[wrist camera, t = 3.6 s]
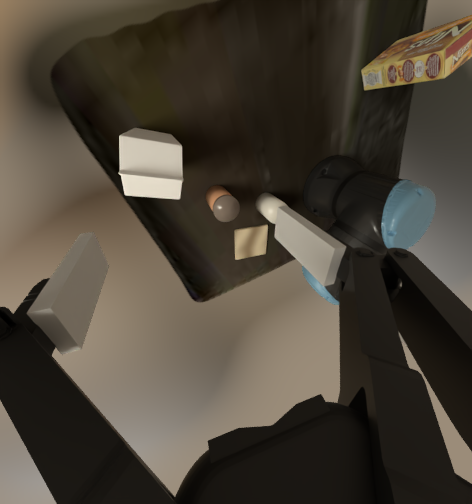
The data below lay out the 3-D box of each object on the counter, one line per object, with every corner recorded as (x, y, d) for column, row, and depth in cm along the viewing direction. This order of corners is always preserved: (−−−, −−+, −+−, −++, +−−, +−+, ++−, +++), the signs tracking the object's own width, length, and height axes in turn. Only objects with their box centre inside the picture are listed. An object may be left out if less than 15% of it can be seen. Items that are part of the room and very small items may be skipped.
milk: (171, 168, 40) (183, 210, 22) (136, 164, 38) (121, 206, 20) (171, 133, 37) (186, 149, 19) (134, 126, 35) (113, 137, 17)
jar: (227, 183, 45) (239, 194, 38) (228, 206, 48) (239, 219, 41) (203, 185, 43) (212, 197, 37) (206, 209, 46) (214, 223, 40)
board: (267, 224, 54) (268, 225, 53) (264, 252, 59) (265, 253, 58) (234, 229, 51) (235, 230, 51) (235, 258, 56) (235, 259, 56)
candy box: (363, 91, 44) (443, 81, 31) (359, 69, 41) (445, 49, 29) (399, 62, 43) (496, 40, 30) (397, 37, 40) (502, 2, 28)
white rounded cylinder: (274, 191, 49) (290, 200, 44) (273, 210, 52) (287, 221, 47) (255, 193, 48) (268, 203, 43) (255, 213, 51) (267, 225, 45)
